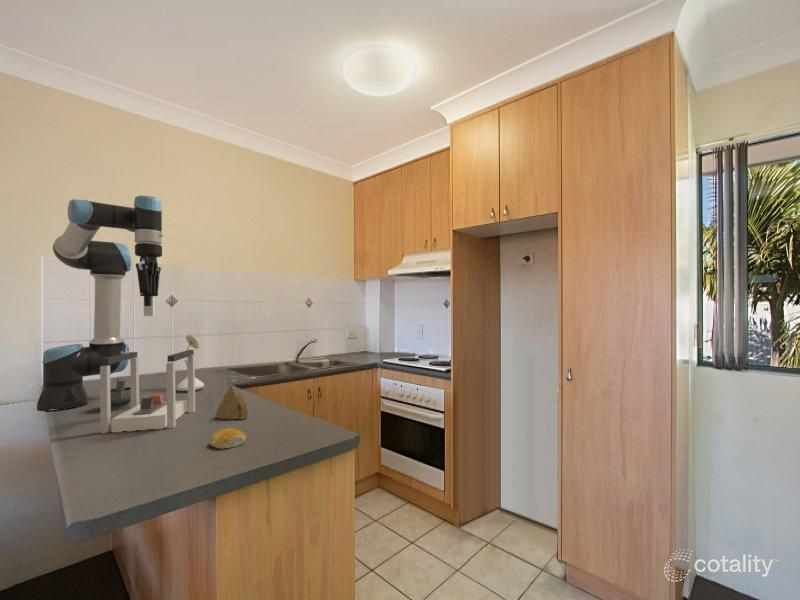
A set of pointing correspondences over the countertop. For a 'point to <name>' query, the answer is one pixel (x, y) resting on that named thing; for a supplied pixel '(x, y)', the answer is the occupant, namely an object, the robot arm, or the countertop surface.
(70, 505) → the countertop surface
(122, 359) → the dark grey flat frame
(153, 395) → the terracotta block
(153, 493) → the countertop surface
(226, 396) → the rock
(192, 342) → the flower in vase
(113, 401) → the mortar and pestle
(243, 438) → the bread roll
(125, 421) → the white grey open frame
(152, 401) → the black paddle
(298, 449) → the countertop surface
